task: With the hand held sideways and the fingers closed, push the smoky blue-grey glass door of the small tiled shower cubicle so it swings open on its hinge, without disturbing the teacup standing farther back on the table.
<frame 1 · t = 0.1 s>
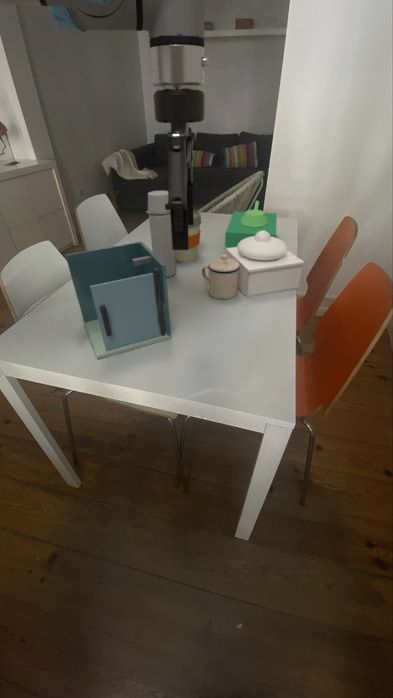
hand: (184, 236, 59), 26 cm above the table, tool pointing down, fingers open, 13 cm apart
butter dish: (259, 281, 102), on the table
reusable coffee cup: (184, 257, 119), on the table
toy tank: (251, 241, 131), on the table
shower: (126, 331, 80), on the table
shower door: (128, 314, 69), point 9 cm above the table, hinge at 0.0°
water bottle: (164, 273, 107), on the table
teacup with lid: (218, 292, 97), on the table
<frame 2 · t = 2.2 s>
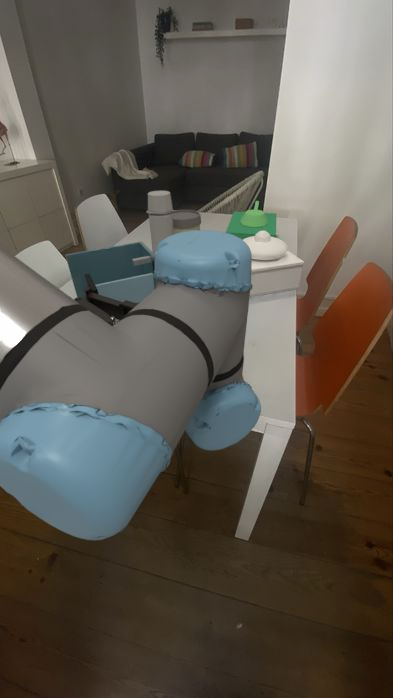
hand: (122, 274, 56), 22 cm above the table, tool horizontal, fingers open, 11 cm apart
nothing on the table moved.
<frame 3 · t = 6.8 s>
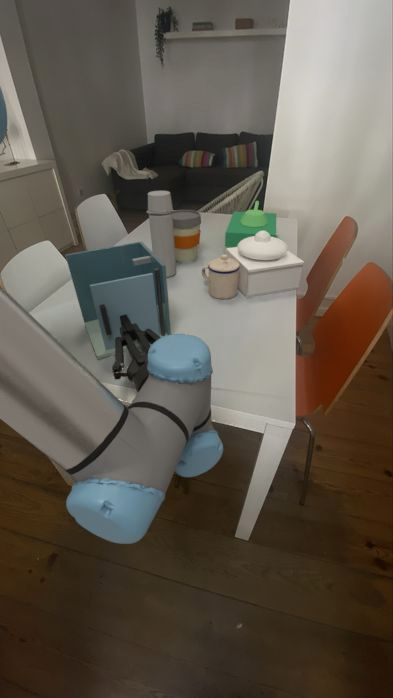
hand: (123, 320, 70), 8 cm above the table, tool horizontal, fingers closed
shower door: (128, 314, 69), point 9 cm above the table, hinge at 1.9°, touching gripper
everything else where it was.
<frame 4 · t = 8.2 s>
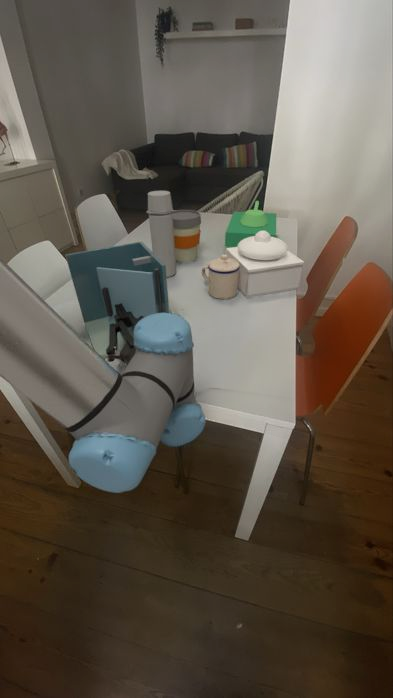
hand: (119, 309, 74), 8 cm above the table, tool horizontal, fingers closed
shower door: (128, 304, 73), point 9 cm above the table, hinge at 39.9°, touching gripper
everything else where it was.
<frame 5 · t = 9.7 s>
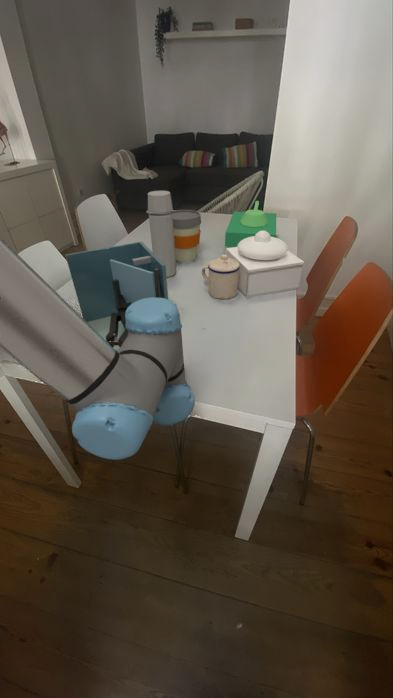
hand: (120, 300, 77), 8 cm above the table, tool horizontal, fingers closed
shower door: (133, 299, 75), point 9 cm above the table, hinge at 61.1°, touching gripper
everything else where it was.
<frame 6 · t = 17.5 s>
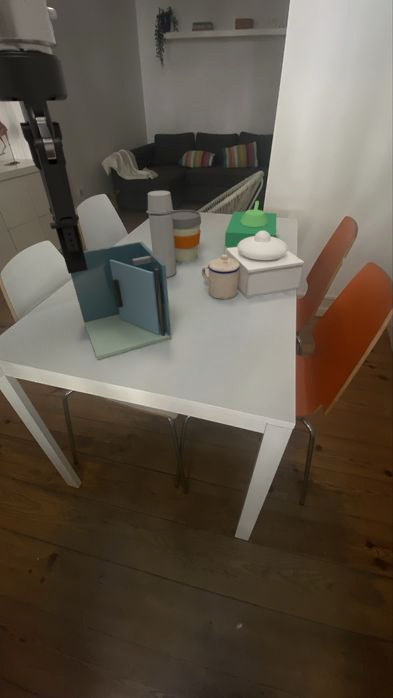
hand: (77, 269, 47), 26 cm above the table, tool pointing down, fingers closed
shower door: (133, 299, 75), point 9 cm above the table, hinge at 60.9°
everything else where it was.
at the end: shower door at +61° (first picture: +0°); teacup with lid moved 0.2 cm from its start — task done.
